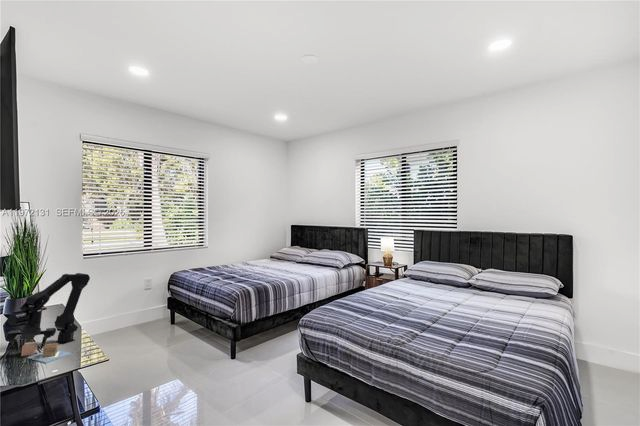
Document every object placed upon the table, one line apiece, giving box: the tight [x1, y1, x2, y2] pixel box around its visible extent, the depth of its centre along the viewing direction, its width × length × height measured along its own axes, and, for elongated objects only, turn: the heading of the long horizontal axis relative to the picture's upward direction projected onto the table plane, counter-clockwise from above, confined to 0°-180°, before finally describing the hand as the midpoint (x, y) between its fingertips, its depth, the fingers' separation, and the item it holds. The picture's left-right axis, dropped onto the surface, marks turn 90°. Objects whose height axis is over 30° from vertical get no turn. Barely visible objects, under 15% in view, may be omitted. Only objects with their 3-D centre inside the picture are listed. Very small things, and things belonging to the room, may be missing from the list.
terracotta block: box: [20, 341, 39, 357], centre depth 162 cm, size 5×5×5 cm
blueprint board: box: [26, 349, 72, 364], centre depth 161 cm, size 12×13×1 cm
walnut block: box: [42, 342, 59, 358], centre depth 161 cm, size 5×5×5 cm
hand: (29, 350), depth 162 cm, fingers open, 9 cm apart
